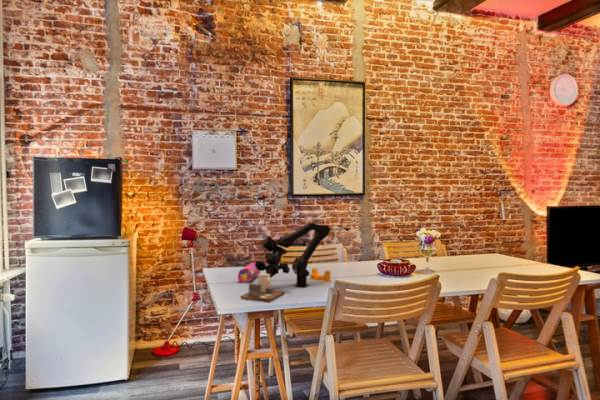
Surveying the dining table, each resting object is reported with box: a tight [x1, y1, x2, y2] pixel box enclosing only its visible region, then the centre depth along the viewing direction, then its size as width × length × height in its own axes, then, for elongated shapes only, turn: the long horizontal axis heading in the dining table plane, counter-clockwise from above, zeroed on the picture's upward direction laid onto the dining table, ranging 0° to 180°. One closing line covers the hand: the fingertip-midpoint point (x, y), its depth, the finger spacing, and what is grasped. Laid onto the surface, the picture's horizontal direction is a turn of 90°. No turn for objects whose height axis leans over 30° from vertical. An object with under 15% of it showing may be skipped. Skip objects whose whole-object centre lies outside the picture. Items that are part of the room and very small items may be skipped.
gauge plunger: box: [257, 272, 274, 293], centre depth 225 cm, size 4×8×9 cm, turn 68°
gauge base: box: [240, 283, 285, 303], centre depth 223 cm, size 18×16×8 cm
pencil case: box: [237, 262, 261, 284], centre depth 263 cm, size 22×9×9 cm, turn 172°
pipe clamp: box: [309, 267, 331, 282], centre depth 264 cm, size 12×4×6 cm, turn 51°
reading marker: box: [266, 284, 273, 294], centre depth 221 cm, size 2×3×4 cm, turn 68°
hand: (267, 279), depth 229 cm, fingers closed
